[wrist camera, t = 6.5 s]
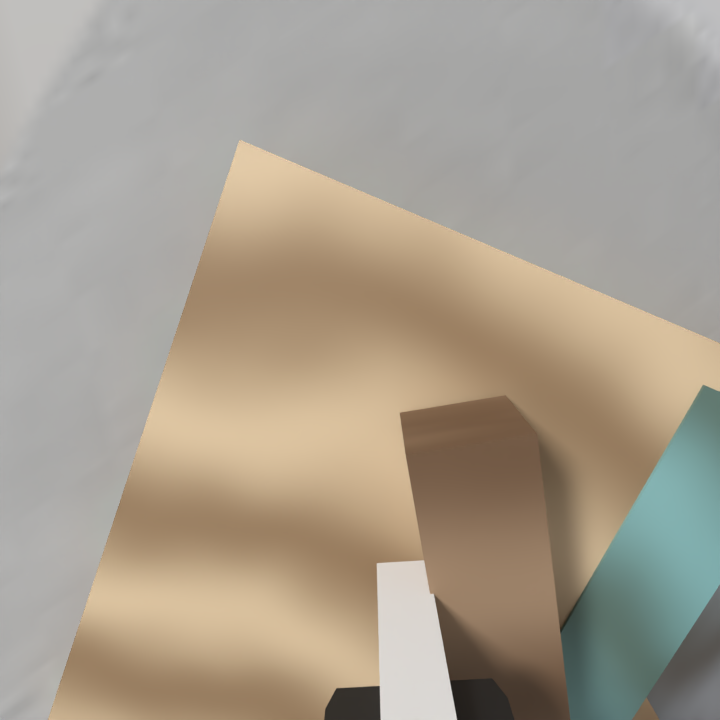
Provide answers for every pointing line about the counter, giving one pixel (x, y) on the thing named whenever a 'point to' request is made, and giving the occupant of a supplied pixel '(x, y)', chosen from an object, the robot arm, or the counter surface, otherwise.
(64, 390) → the counter surface
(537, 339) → the wooden flat board
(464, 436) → the hinged leg
